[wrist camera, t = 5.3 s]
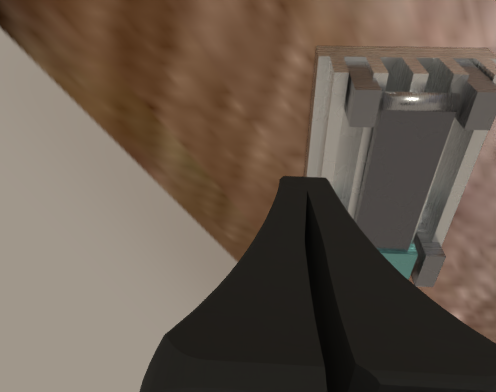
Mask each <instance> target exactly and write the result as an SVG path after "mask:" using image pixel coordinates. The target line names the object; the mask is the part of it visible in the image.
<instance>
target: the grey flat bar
mask: <svg viewBox="0 0 496 392" xmlns="http://www.w3.org/2000/svg"><path fill="white" fill-rule="evenodd" d="M460 101H461V98H460V94H459V93H447V92H395V91H382V92H381V96H380V101H379V106H378V111H377V116H376V121H375V125H374V129H373V134H372V138H371V143H370V148H369V152H368V157H367V162H366V167H365V171H364V176H363V181H362V185H361V190H360V195H359V199H358V204H357V209H356V213H355V218H354V221H355V222H356V224H357V225H358V226H359V228H360V229H361V230H362V231H363V233H364V234H365V235H366V236H367V238H368V239H369V240H370V241H371V242H372V244H373V245H374V246H375V247H376V248H377V249H378V250H379V252H380V253H381V254H382V255H383V256H384V257H385V258H386V259H387V260H388V261H389V262H390V263H391V264H392V265H393V266H394V267H395V268H396V269H397V270H398V271H399V272H400V273H401V274H402V275H403V276H404V277H405V278H407V279H409V277H410V275H411V272H412V269H413V267H414V264H415V261H416V259H417V256H418V254H417V251H416V248H415V245H414V244H410V243H411V240H412V237H413V234H414V232H415V229H416V226H417V223H418V220H419V217H420V214H421V212H422V209H423V206H424V203H425V200H426V197H427V194H428V192H429V189H430V186H431V183H432V180H433V177H434V174H435V172H436V169H437V166H438V163H439V160H440V157H441V154H442V152H443V149H444V146H445V143H446V140H447V137H448V134H449V132H450V129H451V126H452V123H453V120H454V117H455V114H456V112H457V111H458V109H459V106H460Z"/></svg>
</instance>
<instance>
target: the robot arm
mask: <svg viewBox="0 0 496 392" xmlns="http://www.w3.org/2000/svg"><path fill="white" fill-rule="evenodd" d="M140 392H496V344H495V343H494V342H492V341H491V340H489V339H488V338H486V337H484V336H483V335H481V334H480V333H478V332H477V331H475V330H473V329H472V328H470V327H469V326H467V325H466V324H464V323H463V322H461V321H460V320H459V319H457V318H456V317H455V316H453V315H452V314H450V313H449V312H448V311H446V310H445V309H443V308H442V307H441V306H439V305H438V304H437V303H436V302H434V301H433V300H432V299H430V298H429V297H428V296H427V295H426V294H424V293H423V292H422V291H421V290H420V289H418V288H417V287H416V286H415V285H414V284H412V283H411V282H410V281H409V280H408V279H407V278H405V277H404V276H403V275H402V274H401V273H400V272H399V271H398V270H397V269H396V268H395V267H394V266H393V265H392V264H391V263H390V262H389V261H388V260H387V259H386V258H385V257H384V256H383V255H382V254H381V253H380V252H379V250H378V249H377V248H376V247H375V246H374V245H373V244H372V242H371V241H370V240H369V239H368V238H367V236H366V235H365V234H364V233H363V231H362V230H361V229H360V228H359V226H358V225H357V224H356V222H355V221H354V219H353V218H352V217H351V215H350V214H349V213H348V211H347V210H346V208H345V207H344V205H343V204H342V202H341V201H340V199H339V197H338V196H337V194H336V193H335V191H334V189H333V187H332V186H331V184H330V182H329V181H328V179H327V178H324V177H292V176H283V177H282V178H281V179H280V183H279V188H278V192H277V195H276V197H275V200H274V203H273V205H272V207H271V209H270V211H269V213H268V216H267V218H266V220H265V222H264V223H263V225H262V227H261V229H260V230H259V232H258V234H257V235H256V237H255V239H254V240H253V242H252V244H251V245H250V247H249V248H248V250H247V251H246V252H245V254H244V255H243V257H242V258H241V259H240V261H239V262H238V263H237V265H236V266H235V267H234V268H233V269H232V271H231V272H230V273H229V274H228V276H227V277H226V278H225V279H224V280H223V281H222V282H221V284H220V285H219V286H218V287H217V288H216V289H215V290H214V291H213V292H212V293H211V294H210V295H209V296H208V297H207V298H206V299H205V300H204V301H203V302H202V303H201V304H200V305H199V306H198V307H197V308H196V309H195V310H193V312H191V313H190V314H189V315H188V316H187V317H185V318H184V319H183V320H182V321H181V322H179V323H178V324H177V325H176V326H175V327H174V328H172V329H171V330H170V331H169V332H167V333H166V334H165V335H164V337H163V339H162V340H161V342H160V344H159V346H158V348H157V350H156V351H155V354H154V356H153V358H152V360H151V362H150V364H149V366H148V369H147V371H146V374H145V376H144V379H143V382H142V385H141V389H140Z"/></svg>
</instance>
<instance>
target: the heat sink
mask: <svg viewBox="0 0 496 392" xmlns="http://www.w3.org/2000/svg"><path fill="white" fill-rule="evenodd" d="M382 91H395V92H447V93H459V94H460V98H461V101H460V106H459V109H458V111H457V112H456V114H455V117H454V120H453V123H452V126H451V129H450V132H449V134H448V137H447V140H446V143H445V146H444V149H443V152H442V154H441V157H440V160H439V163H438V166H437V169H436V172H435V174H434V177H433V180H432V183H431V186H430V189H429V192H428V194H427V197H426V200H425V203H424V206H423V209H422V212H421V214H420V217H419V220H418V223H417V226H416V229H415V232H414V234H413V237H412V240H411V243H410V244H414V245H415V248H416V251H417V254H418V256H417V259H416V261H415V264H414V267H413V269H412V272H411V276H412V279H413V282H414V285H415V286H418V287H433V286H434V284H435V281H436V279H437V277H438V274H439V272H440V270H441V267H442V265H443V262H444V260H445V258H446V256H445V254H444V252H443V250H442V247H441V246H442V244H443V241H444V239H445V236H446V234H447V231H448V229H449V226H450V224H451V221H452V219H453V216H454V214H455V211H456V209H457V206H458V204H459V201H460V199H461V197H462V194H463V192H464V189H465V187H466V184H467V182H468V179H469V177H470V174H471V172H472V169H473V167H474V164H475V162H476V159H477V157H478V154H479V152H480V149H481V147H482V145H483V142H484V140H485V137H486V135H487V132H488V130H490V128H491V126H492V123H493V121H494V118H495V116H496V54H494V53H493V52H492V51H491V50H489V49H488V48H430V47H351V46H316V55H315V65H314V76H313V87H312V97H311V108H310V118H309V129H308V139H307V150H306V160H305V171H304V177H324V178H327V179H328V181H329V182H330V184H331V186H332V187H333V189H334V191H335V193H336V194H337V196H338V197H339V199H340V201H341V202H342V204H343V205H344V207H345V208H346V210H347V211H348V213H349V214H350V215H351V217H352V218H353V219H354V218H355V213H356V209H357V204H358V199H359V195H360V190H361V185H362V181H363V176H364V171H365V167H366V162H367V157H368V152H369V148H370V143H371V138H372V134H373V129H374V125H375V121H376V116H377V111H378V106H379V101H380V96H381V92H382Z"/></svg>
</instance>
